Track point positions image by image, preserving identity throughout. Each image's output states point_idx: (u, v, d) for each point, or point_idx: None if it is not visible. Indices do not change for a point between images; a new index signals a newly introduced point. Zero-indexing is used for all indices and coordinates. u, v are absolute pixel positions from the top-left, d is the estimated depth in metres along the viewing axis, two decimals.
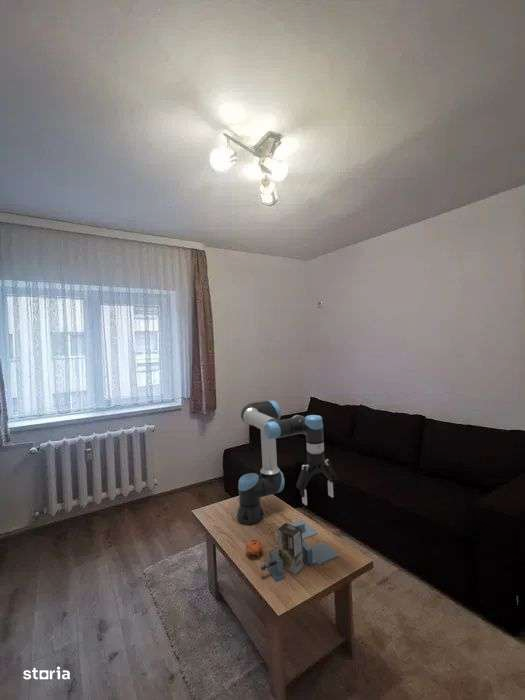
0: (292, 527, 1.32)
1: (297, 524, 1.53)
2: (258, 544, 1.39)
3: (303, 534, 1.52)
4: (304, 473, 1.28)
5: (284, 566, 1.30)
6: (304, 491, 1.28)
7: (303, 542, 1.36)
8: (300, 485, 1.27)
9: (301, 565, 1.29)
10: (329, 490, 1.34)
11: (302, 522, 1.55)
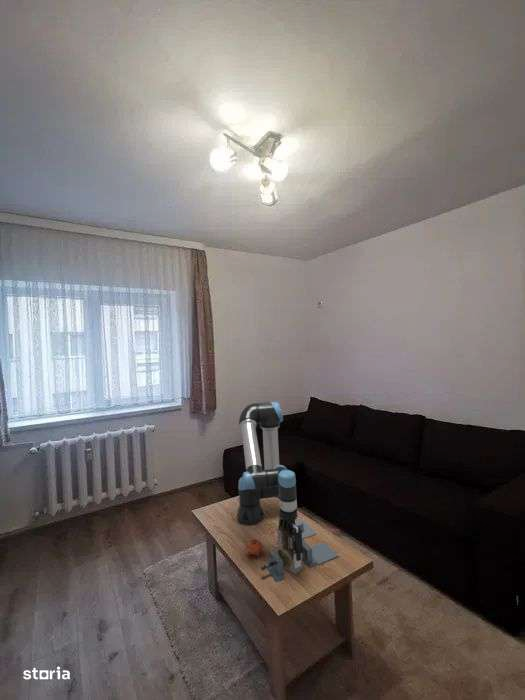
0: None
1: None
2: (258, 544, 1.39)
3: None
4: (279, 520, 1.36)
5: (284, 566, 1.30)
6: None
7: (303, 542, 1.36)
8: None
9: (301, 565, 1.29)
10: None
11: (301, 522, 1.55)
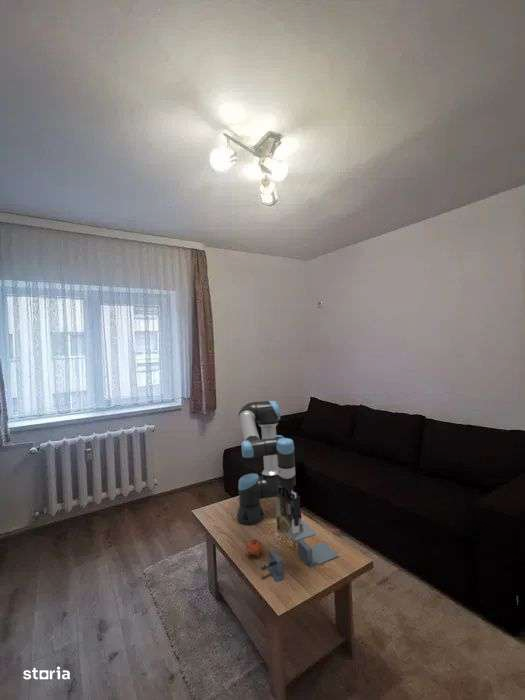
0: None
1: None
2: (258, 544, 1.39)
3: (300, 534, 1.52)
4: (278, 488, 1.37)
5: (282, 532, 1.30)
6: None
7: (303, 542, 1.36)
8: None
9: (299, 531, 1.29)
10: None
11: None
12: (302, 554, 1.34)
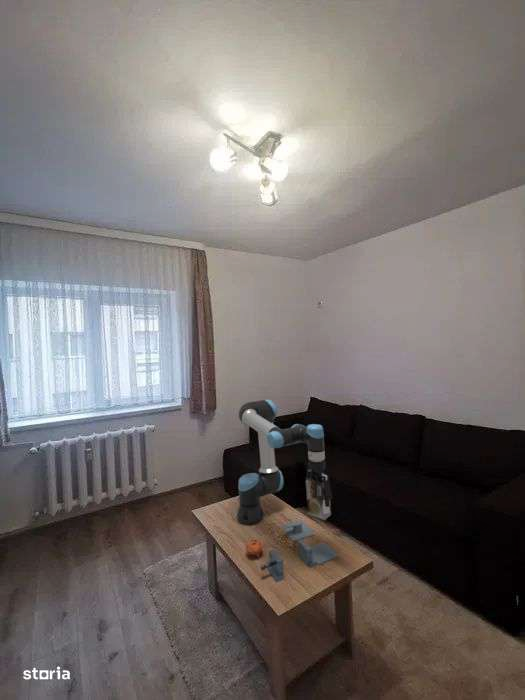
0: None
1: (294, 524, 1.53)
2: (258, 544, 1.39)
3: (299, 534, 1.52)
4: (307, 473, 1.43)
5: (313, 514, 1.36)
6: None
7: (303, 542, 1.36)
8: None
9: None
10: None
11: (299, 522, 1.55)
12: (302, 554, 1.34)
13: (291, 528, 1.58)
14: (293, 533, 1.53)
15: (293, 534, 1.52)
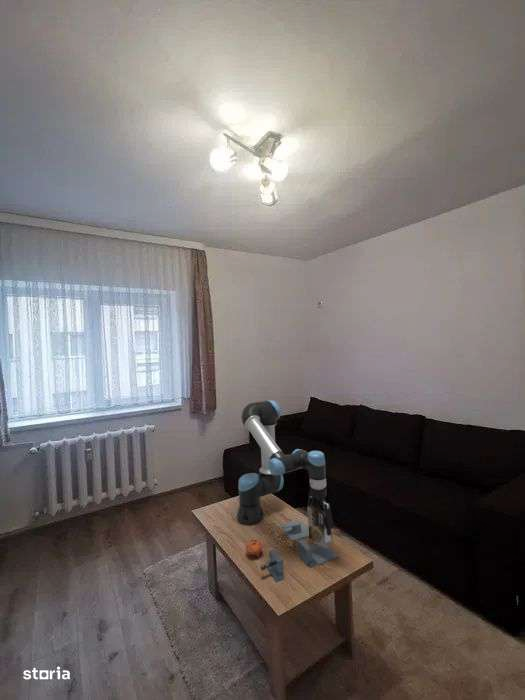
0: None
1: (293, 524, 1.53)
2: (258, 544, 1.39)
3: (298, 534, 1.52)
4: (308, 499, 1.43)
5: (314, 541, 1.36)
6: None
7: (303, 542, 1.36)
8: None
9: (331, 540, 1.36)
10: None
11: (298, 522, 1.55)
12: (302, 554, 1.34)
13: (290, 528, 1.58)
14: (292, 533, 1.53)
15: (292, 534, 1.52)
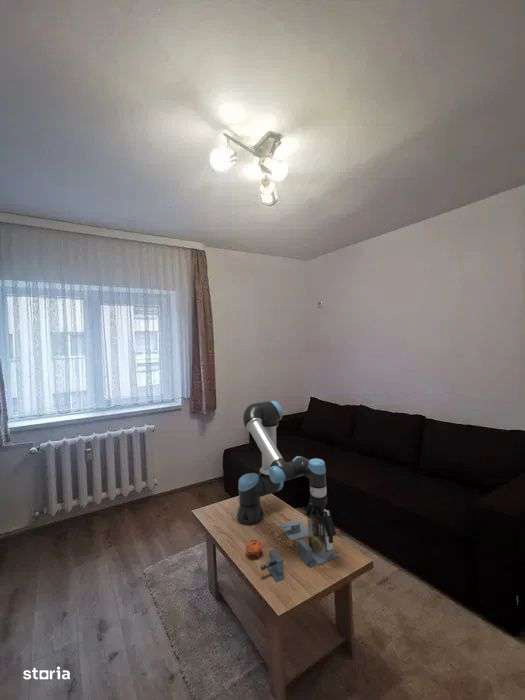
0: None
1: (292, 524, 1.53)
2: (258, 544, 1.39)
3: (297, 534, 1.52)
4: (308, 505, 1.44)
5: (314, 552, 1.37)
6: None
7: (303, 542, 1.36)
8: (306, 512, 1.46)
9: (331, 551, 1.36)
10: None
11: (297, 522, 1.55)
12: (302, 554, 1.34)
13: (289, 528, 1.58)
14: (291, 533, 1.53)
15: (291, 534, 1.52)
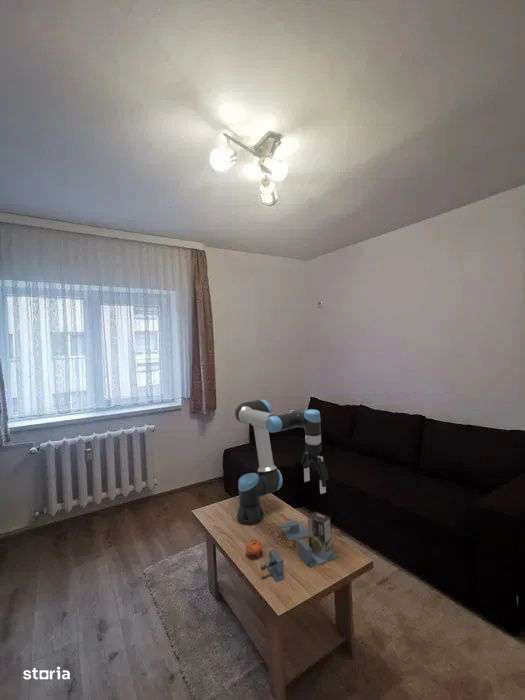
0: (321, 515, 1.39)
1: (290, 524, 1.53)
2: (258, 544, 1.39)
3: (296, 535, 1.52)
4: (303, 454, 1.50)
5: (314, 552, 1.37)
6: None
7: (303, 542, 1.36)
8: (301, 462, 1.52)
9: (331, 551, 1.36)
10: None
11: (296, 523, 1.55)
12: (302, 554, 1.34)
13: (289, 528, 1.58)
14: (290, 533, 1.53)
15: (290, 534, 1.52)
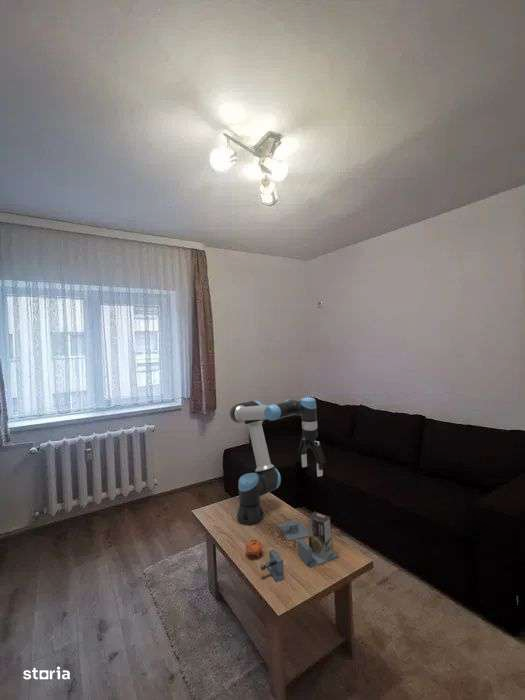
0: (321, 515, 1.39)
1: (290, 524, 1.54)
2: (258, 544, 1.39)
3: (295, 535, 1.52)
4: (301, 441, 1.57)
5: (314, 552, 1.37)
6: None
7: (303, 542, 1.36)
8: (299, 448, 1.59)
9: (331, 551, 1.36)
10: None
11: (295, 523, 1.55)
12: (302, 554, 1.34)
13: (288, 528, 1.58)
14: (289, 533, 1.53)
15: (289, 534, 1.53)
